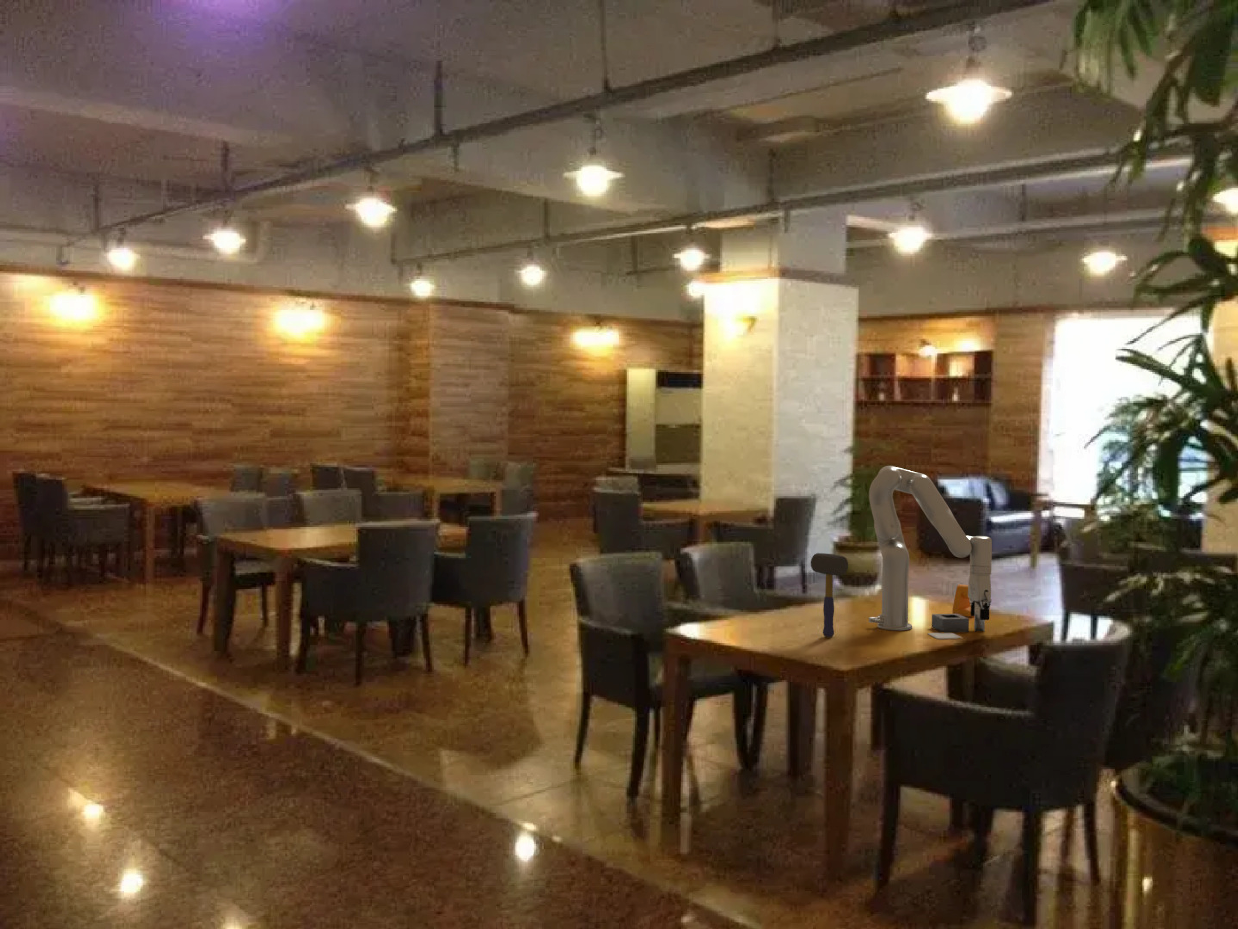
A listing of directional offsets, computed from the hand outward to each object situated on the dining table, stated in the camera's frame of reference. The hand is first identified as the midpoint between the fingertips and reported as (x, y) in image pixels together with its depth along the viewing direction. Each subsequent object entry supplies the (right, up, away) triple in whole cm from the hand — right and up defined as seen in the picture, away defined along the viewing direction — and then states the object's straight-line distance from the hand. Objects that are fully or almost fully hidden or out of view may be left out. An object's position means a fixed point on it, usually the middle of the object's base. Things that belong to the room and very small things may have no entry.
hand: (979, 617), depth 423 cm
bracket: (+5, -4, +32) cm, 33 cm away
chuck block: (-10, -5, +2) cm, 12 cm away
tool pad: (-16, -5, -11) cm, 20 cm away
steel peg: (0, -5, 0) cm, 5 cm away
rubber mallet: (-58, -6, -13) cm, 60 cm away
